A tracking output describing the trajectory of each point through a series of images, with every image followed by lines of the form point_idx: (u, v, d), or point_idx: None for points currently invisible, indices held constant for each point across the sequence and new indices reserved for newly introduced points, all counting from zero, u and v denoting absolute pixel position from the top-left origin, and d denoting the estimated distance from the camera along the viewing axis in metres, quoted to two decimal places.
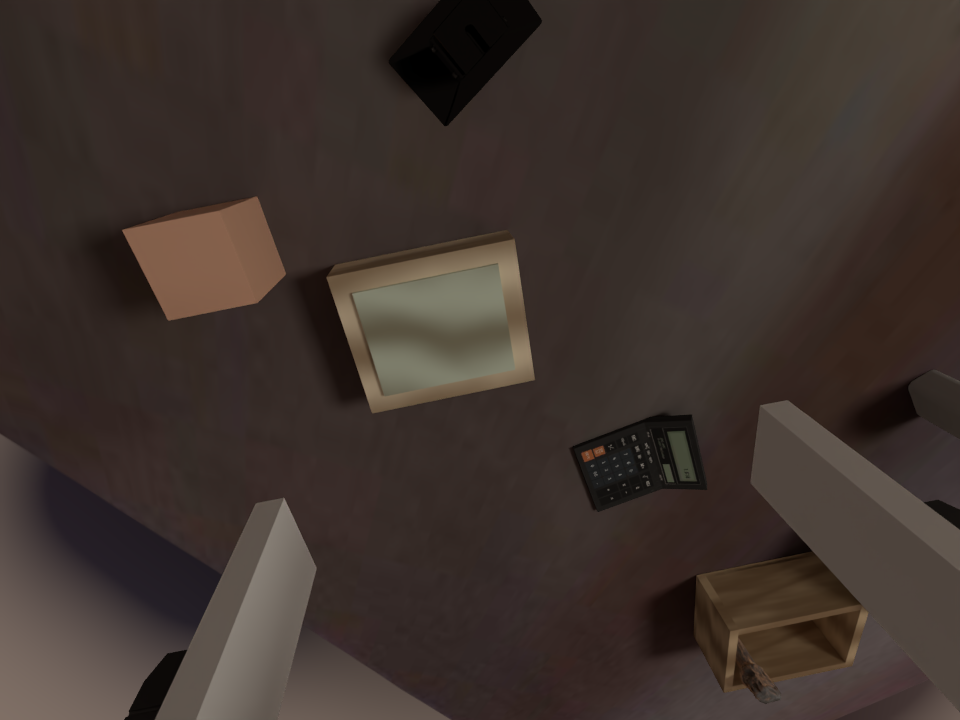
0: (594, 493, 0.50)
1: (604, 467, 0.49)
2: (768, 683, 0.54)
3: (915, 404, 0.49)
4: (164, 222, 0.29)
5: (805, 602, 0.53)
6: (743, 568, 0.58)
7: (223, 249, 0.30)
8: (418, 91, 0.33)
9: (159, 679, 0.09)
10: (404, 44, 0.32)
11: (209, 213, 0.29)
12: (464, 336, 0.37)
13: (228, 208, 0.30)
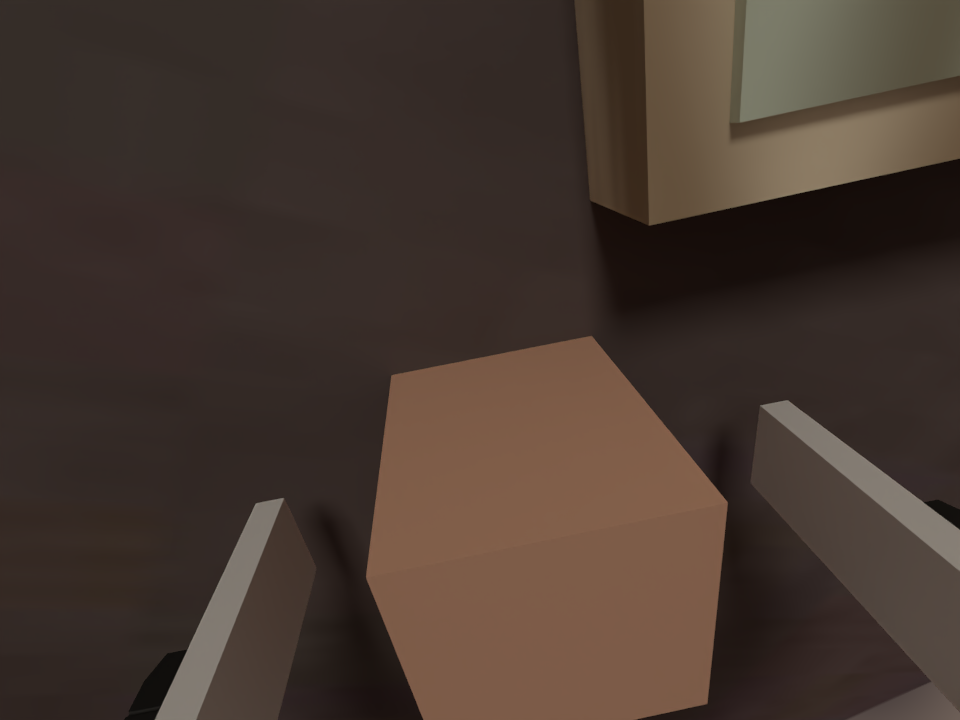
0: None
1: None
2: None
3: None
4: (416, 693, 0.09)
5: None
6: None
7: (510, 578, 0.08)
8: None
9: (158, 680, 0.09)
10: None
11: (380, 600, 0.08)
12: None
13: (377, 514, 0.09)
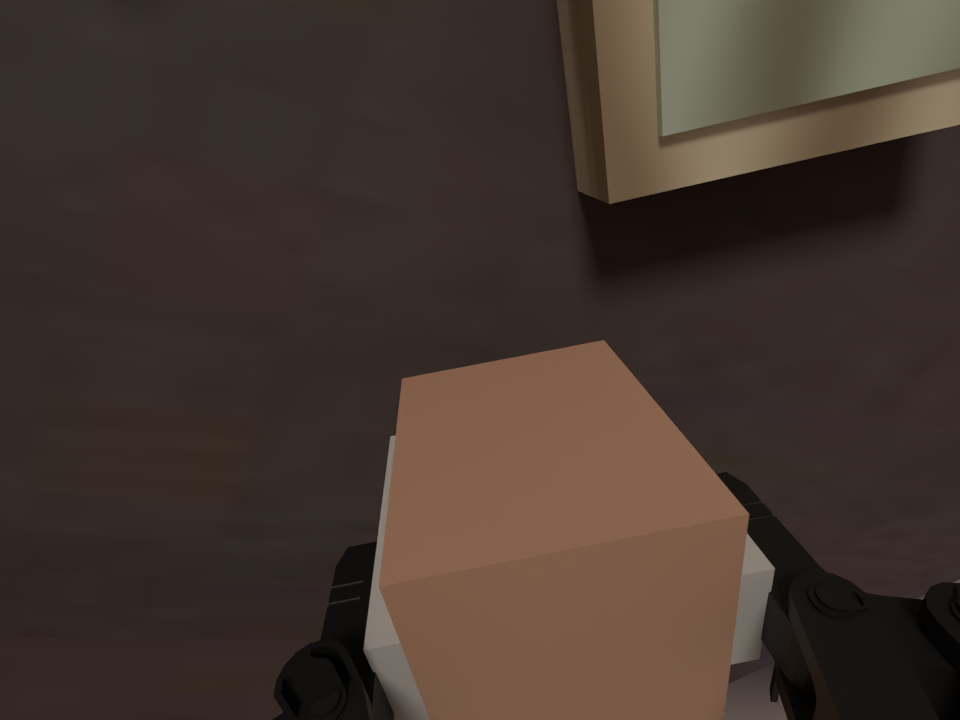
0: None
1: None
2: None
3: None
4: (427, 704, 0.09)
5: None
6: None
7: (525, 589, 0.08)
8: None
9: (348, 564, 0.11)
10: None
11: (392, 610, 0.08)
12: None
13: (389, 521, 0.09)
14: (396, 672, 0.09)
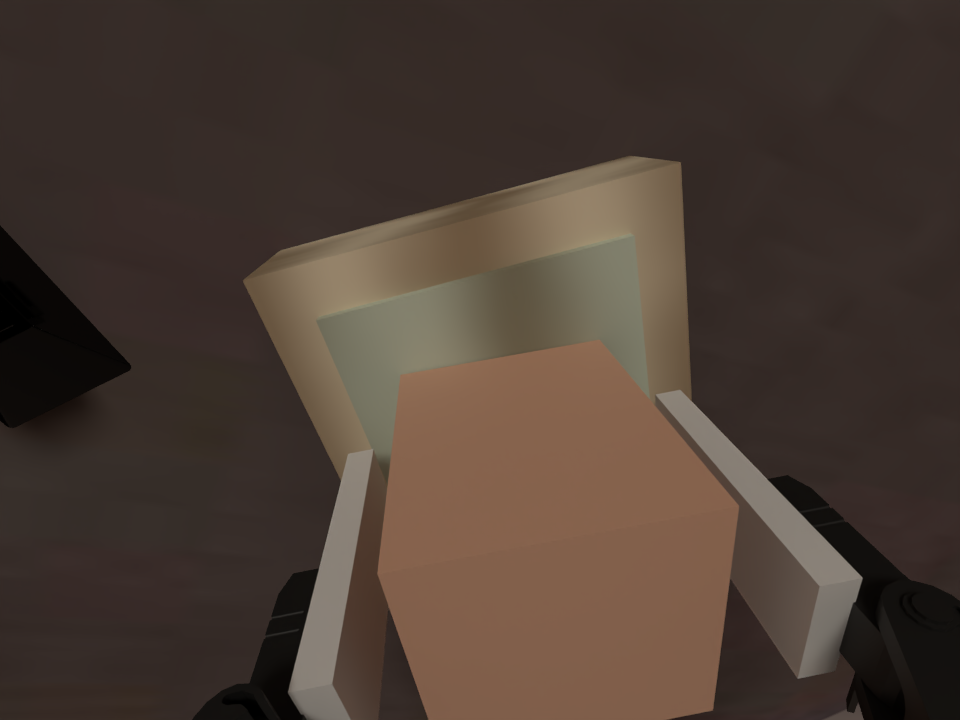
0: None
1: None
2: None
3: None
4: (423, 693, 0.09)
5: None
6: None
7: (520, 578, 0.08)
8: (60, 396, 0.17)
9: (291, 592, 0.10)
10: None
11: (390, 597, 0.08)
12: None
13: (388, 512, 0.09)
14: (325, 715, 0.08)
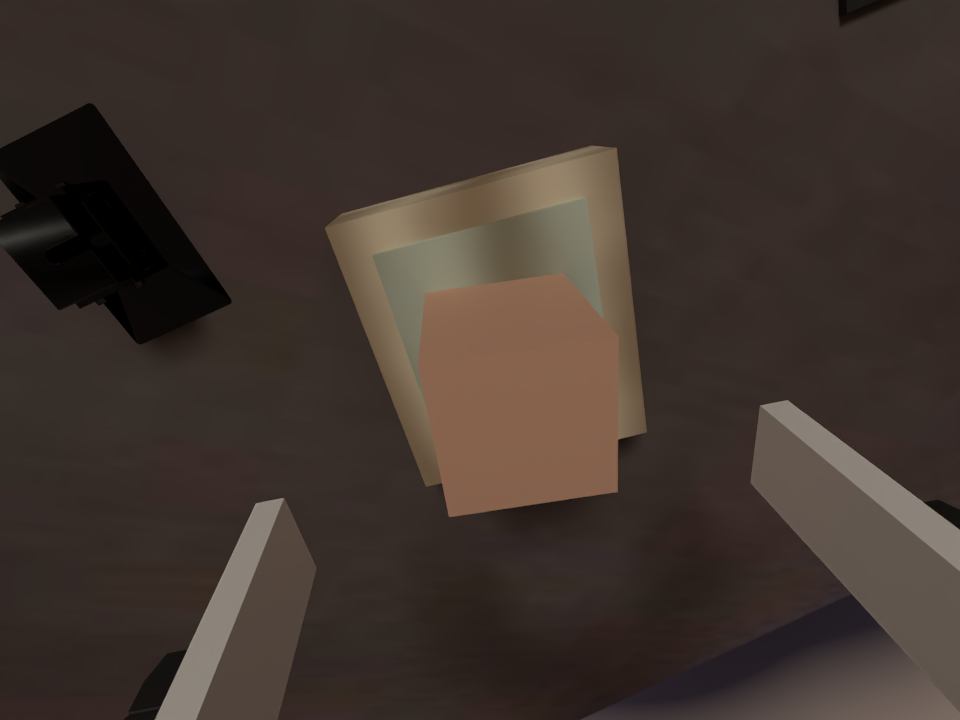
0: None
1: None
2: None
3: None
4: (438, 457, 0.15)
5: None
6: None
7: (496, 376, 0.14)
8: (178, 320, 0.24)
9: (158, 680, 0.09)
10: (117, 317, 0.23)
11: (423, 384, 0.14)
12: None
13: (421, 347, 0.15)
14: None
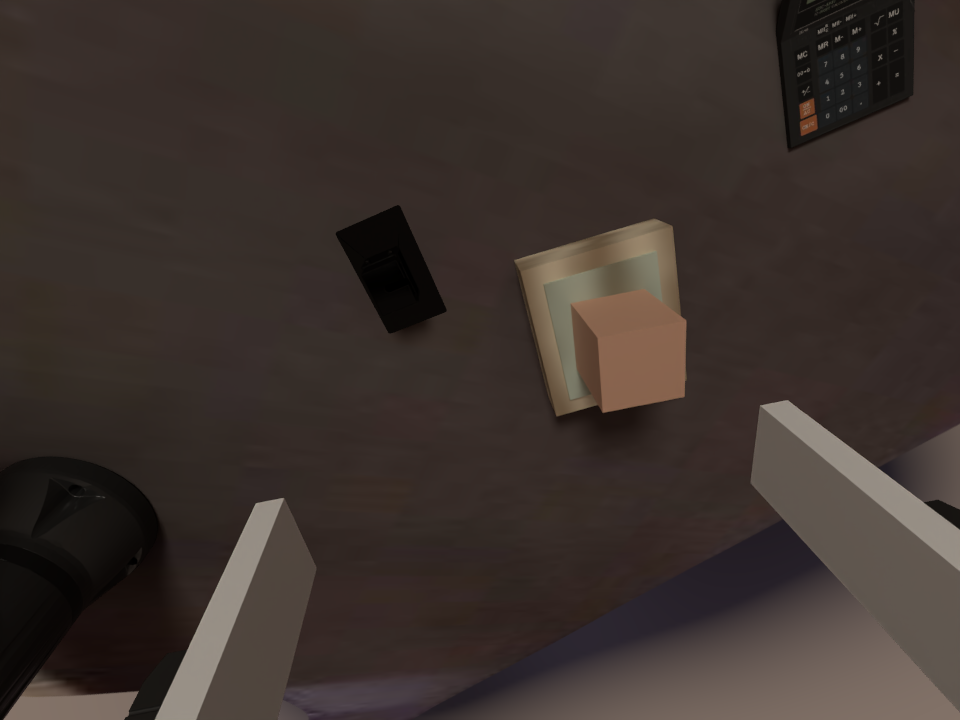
0: (876, 105, 0.36)
1: (837, 96, 0.35)
2: None
3: None
4: (601, 381, 0.33)
5: None
6: None
7: (631, 341, 0.32)
8: (415, 321, 0.41)
9: (158, 680, 0.09)
10: (382, 318, 0.41)
11: (598, 346, 0.32)
12: None
13: (592, 329, 0.32)
14: None
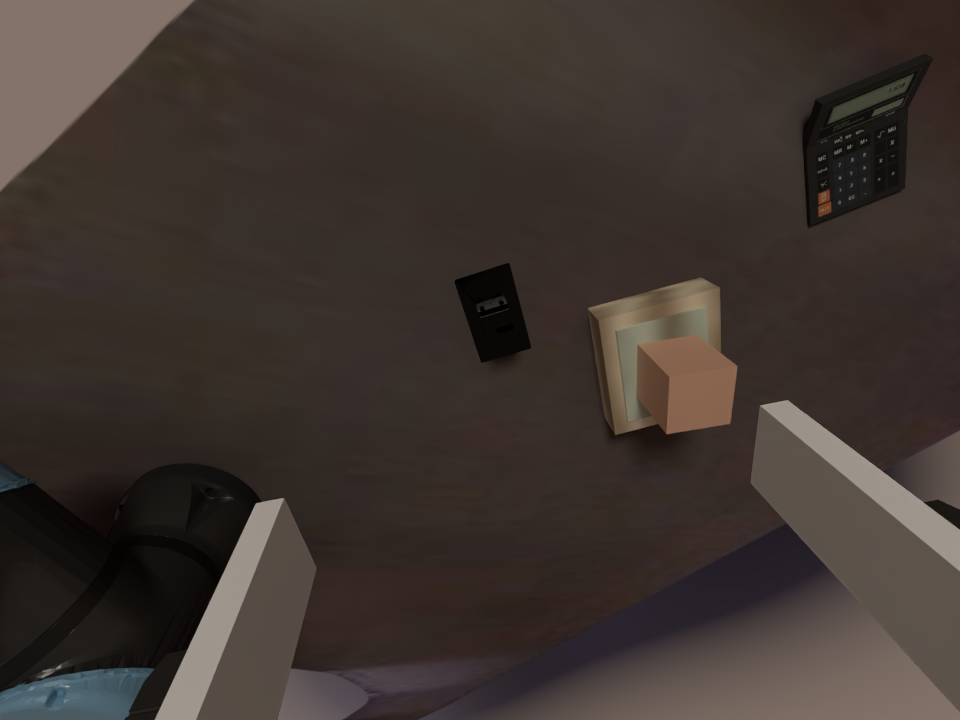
0: (877, 195, 0.46)
1: (847, 188, 0.45)
2: None
3: None
4: (668, 410, 0.42)
5: None
6: None
7: (694, 380, 0.41)
8: (504, 354, 0.50)
9: (158, 680, 0.09)
10: (478, 350, 0.49)
11: (669, 383, 0.41)
12: None
13: (663, 369, 0.42)
14: None
